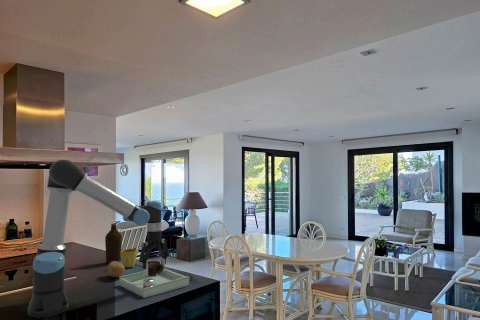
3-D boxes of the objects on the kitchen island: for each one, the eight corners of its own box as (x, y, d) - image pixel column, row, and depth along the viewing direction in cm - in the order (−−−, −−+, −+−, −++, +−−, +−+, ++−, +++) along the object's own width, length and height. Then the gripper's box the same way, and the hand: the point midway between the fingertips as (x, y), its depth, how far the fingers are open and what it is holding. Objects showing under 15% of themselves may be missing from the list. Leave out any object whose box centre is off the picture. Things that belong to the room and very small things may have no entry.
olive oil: (122, 262, 222) (122, 224, 223) (105, 264, 218) (105, 225, 219) (121, 258, 232) (121, 222, 233) (104, 260, 228) (104, 223, 228)
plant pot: (116, 267, 210) (117, 251, 210) (126, 263, 220) (126, 248, 220) (131, 268, 207) (131, 252, 208) (140, 264, 217) (140, 249, 217)
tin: (146, 295, 161) (146, 282, 161) (141, 292, 165) (141, 280, 165) (155, 292, 165) (155, 280, 165) (150, 290, 168) (150, 277, 168)
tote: (144, 299, 158) (144, 289, 159) (119, 285, 177) (119, 276, 177) (189, 285, 177) (189, 276, 177) (162, 274, 195) (162, 266, 195)
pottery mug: (139, 277, 175) (141, 261, 179) (150, 280, 182) (151, 265, 186) (158, 274, 171) (160, 258, 175) (169, 277, 178) (170, 262, 183)
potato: (110, 281, 183) (110, 267, 184) (104, 275, 195) (104, 261, 195) (128, 278, 189) (128, 264, 189) (121, 272, 200) (121, 258, 201)
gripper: (138, 234, 167) (138, 279, 167) (175, 228, 183) (176, 269, 182) (131, 232, 173) (131, 276, 172) (168, 226, 188) (168, 267, 188)
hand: (154, 272), depth 177 cm, fingers closed on pottery mug, 9 cm apart
